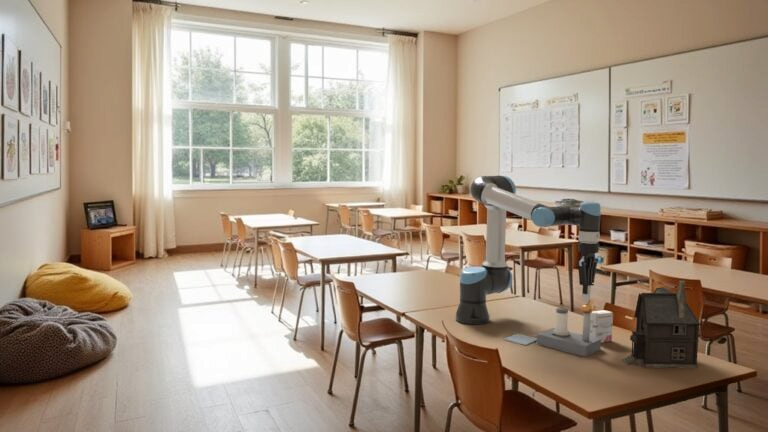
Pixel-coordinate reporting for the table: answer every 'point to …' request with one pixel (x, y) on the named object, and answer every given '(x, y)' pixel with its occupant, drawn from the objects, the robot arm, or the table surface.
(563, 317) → the plug
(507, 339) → the mat
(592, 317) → the ink box
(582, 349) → the socket
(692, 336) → the model house
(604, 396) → the table surface
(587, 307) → the wooden lever
